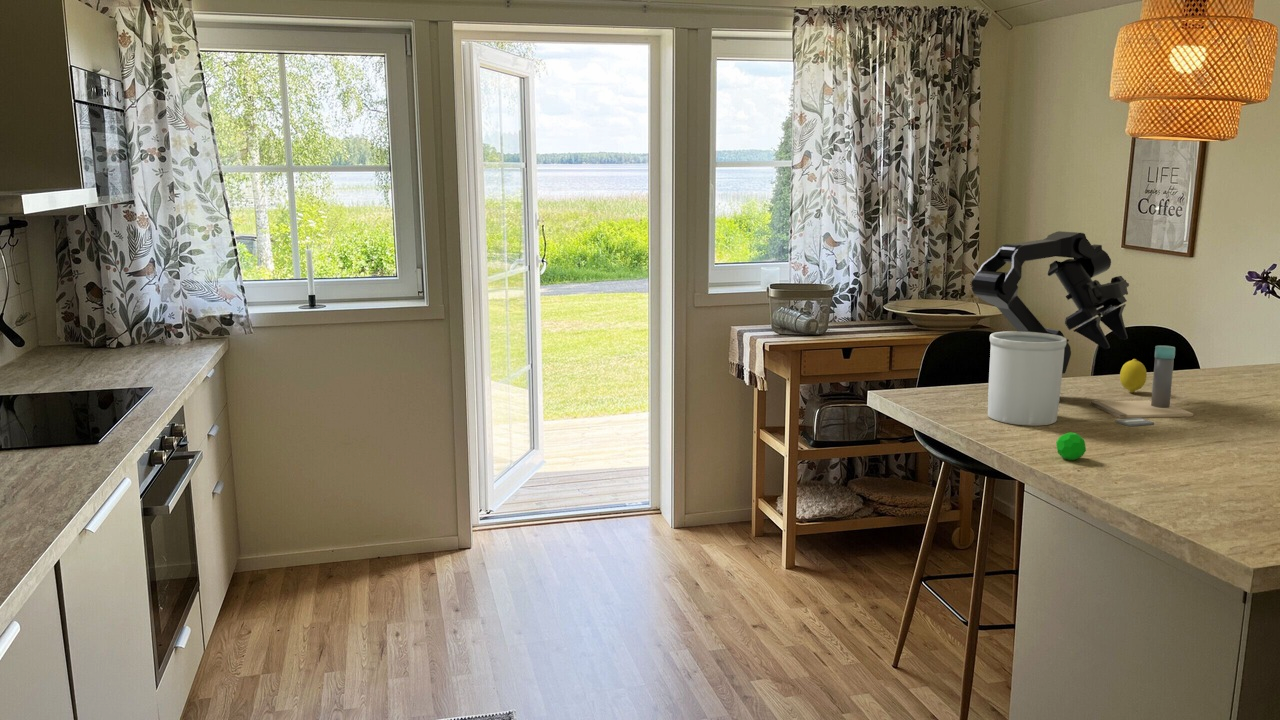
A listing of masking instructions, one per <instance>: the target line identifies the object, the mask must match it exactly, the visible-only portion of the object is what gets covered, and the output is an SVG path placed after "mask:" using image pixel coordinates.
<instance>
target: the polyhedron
mask: <svg viewBox="0 0 1280 720" xmlns="http://www.w3.org/2000/svg"><path fill="white" fill-rule="evenodd" d="M1055 442H1056V443H1055V444H1056V450H1057V454H1058V455H1059V456H1061V458H1063V459H1064V460H1066V459H1068V460H1067V461H1076V460H1077V459H1079V458H1081V457H1083V456H1084V455H1085V453H1086V451H1087V448H1086V446H1087V445H1086V440H1085V439H1084V438H1083V437H1082V436H1081V435H1080V434H1079V433H1077V432H1070V431H1069V432H1066V433H1064V434H1062V435H1060V436H1059V437H1058V439H1057V440H1056V441H1055Z"/></svg>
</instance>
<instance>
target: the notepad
mask: <svg viewBox="0 0 1280 720" xmlns="http://www.w3.org/2000/svg"><path fill="white" fill-rule="evenodd" d="M1090 405H1091V406H1093V407H1095V408H1097V409H1099V410H1102V411H1104V412H1106V413H1108V414H1110V415H1112V416H1114V417H1117V419H1129V418H1143V419H1144V418H1175V417H1176V418H1177V417H1178V418H1179V417H1182V418H1183V417H1186V418H1187V417H1194V413H1193V412H1190V411H1188V410H1185V409H1183V408H1180V407H1178V406H1176V405H1173V404H1171V403H1170V407H1168V408H1159V407H1153V406H1151V399H1150V400H1149V399H1148V400H1145V399H1144V400H1110V401H1109V400H1107V401H1105V400H1103V401H1102V400H1101V401H1099V400H1096V401H1095V400H1092V401H1091V400H1090Z"/></svg>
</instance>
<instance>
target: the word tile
mask: <svg viewBox="0 0 1280 720" xmlns="http://www.w3.org/2000/svg"><path fill="white" fill-rule="evenodd" d="M1114 422H1115V423H1118V424H1120V425H1124V426H1127V427H1135V426H1148V425H1149V426H1150V425H1151V426H1152V425H1154V424H1155V422H1154V421H1151V420H1148V419H1145V418H1144V417H1143V418H1116V419H1114Z"/></svg>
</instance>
